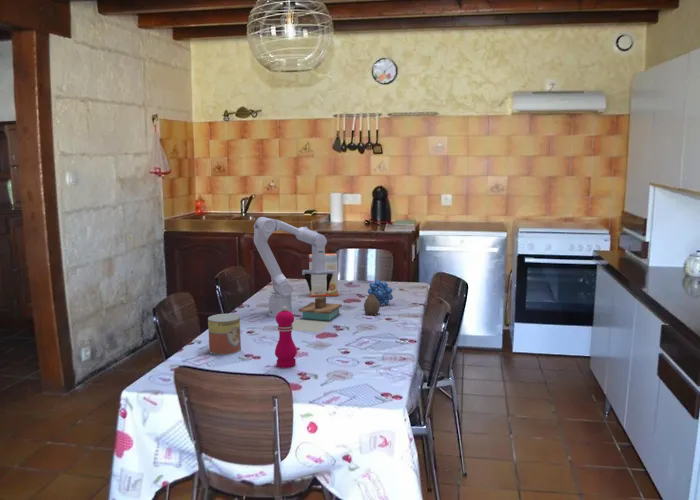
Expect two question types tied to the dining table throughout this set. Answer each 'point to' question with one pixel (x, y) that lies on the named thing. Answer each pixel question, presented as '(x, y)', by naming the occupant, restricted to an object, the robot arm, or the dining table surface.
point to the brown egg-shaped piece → (371, 305)
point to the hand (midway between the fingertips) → (319, 290)
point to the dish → (320, 315)
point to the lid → (320, 306)
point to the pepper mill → (285, 340)
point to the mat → (309, 325)
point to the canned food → (224, 333)
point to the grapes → (381, 292)
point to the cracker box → (320, 280)
